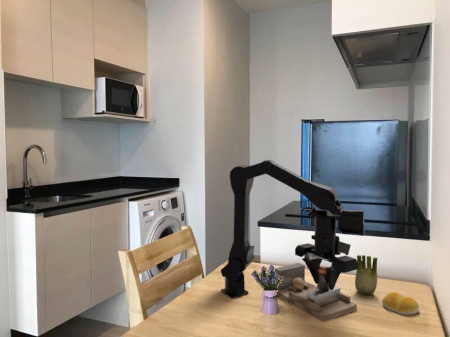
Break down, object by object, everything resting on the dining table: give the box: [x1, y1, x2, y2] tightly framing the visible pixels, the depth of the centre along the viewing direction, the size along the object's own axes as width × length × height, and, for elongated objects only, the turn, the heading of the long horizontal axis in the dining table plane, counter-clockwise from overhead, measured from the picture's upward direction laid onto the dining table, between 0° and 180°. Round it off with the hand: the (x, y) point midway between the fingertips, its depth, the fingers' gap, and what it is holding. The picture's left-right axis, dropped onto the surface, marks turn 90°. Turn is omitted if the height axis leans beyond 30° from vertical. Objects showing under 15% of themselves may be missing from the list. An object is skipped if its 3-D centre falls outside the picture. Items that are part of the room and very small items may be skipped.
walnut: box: [293, 278, 304, 290], centre depth 113 cm, size 4×4×4 cm
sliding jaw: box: [307, 265, 341, 306], centre depth 104 cm, size 4×10×9 cm, turn 122°
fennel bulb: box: [354, 254, 378, 296], centre depth 113 cm, size 6×5×12 cm
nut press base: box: [273, 262, 358, 323], centre depth 108 cm, size 22×13×8 cm, turn 32°
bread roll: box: [381, 291, 420, 315], centre depth 104 cm, size 8×9×4 cm
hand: (324, 286), depth 104 cm, fingers open, 5 cm apart
